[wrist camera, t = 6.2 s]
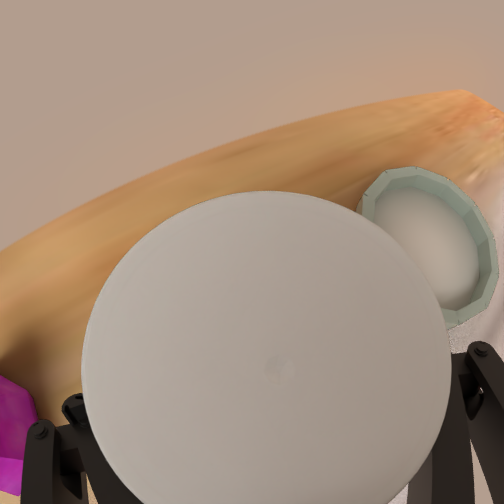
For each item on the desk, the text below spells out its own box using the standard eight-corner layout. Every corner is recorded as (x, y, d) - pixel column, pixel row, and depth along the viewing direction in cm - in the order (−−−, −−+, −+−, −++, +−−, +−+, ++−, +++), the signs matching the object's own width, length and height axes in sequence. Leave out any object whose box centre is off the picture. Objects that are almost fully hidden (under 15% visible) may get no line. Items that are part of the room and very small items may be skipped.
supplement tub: (171, 326, 21) (68, 214, 8) (302, 299, 22) (382, 160, 9) (199, 459, 17) (124, 567, 4) (336, 427, 18) (484, 464, 5)
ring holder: (339, 314, 22) (353, 302, 19) (354, 170, 28) (364, 149, 25) (480, 340, 21) (501, 332, 18) (471, 209, 26) (486, 194, 24)
